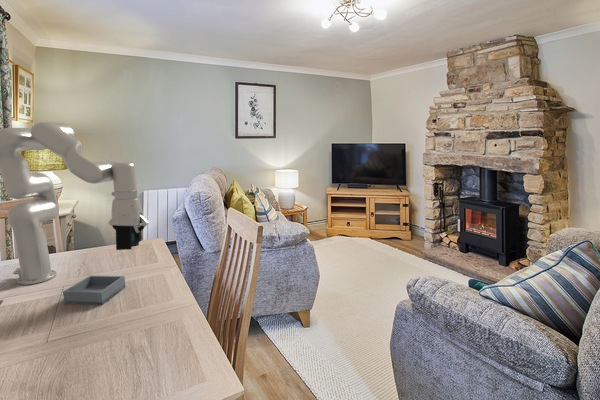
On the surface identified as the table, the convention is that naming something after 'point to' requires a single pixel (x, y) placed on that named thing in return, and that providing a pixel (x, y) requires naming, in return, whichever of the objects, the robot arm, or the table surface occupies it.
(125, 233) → the speaker
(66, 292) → the open box
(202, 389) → the table surface
